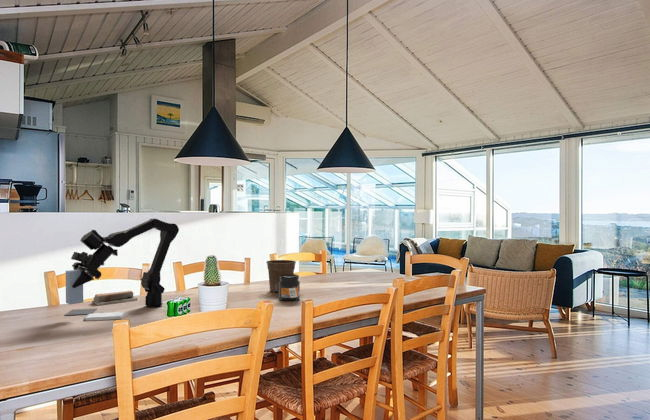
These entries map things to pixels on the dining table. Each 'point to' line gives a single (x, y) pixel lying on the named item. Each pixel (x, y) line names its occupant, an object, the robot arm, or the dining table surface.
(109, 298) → the packaged product
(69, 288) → the stub
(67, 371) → the dining table surface
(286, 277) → the supplement container
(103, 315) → the strip
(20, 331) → the dining table surface
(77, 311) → the coaster
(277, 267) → the plant pot
